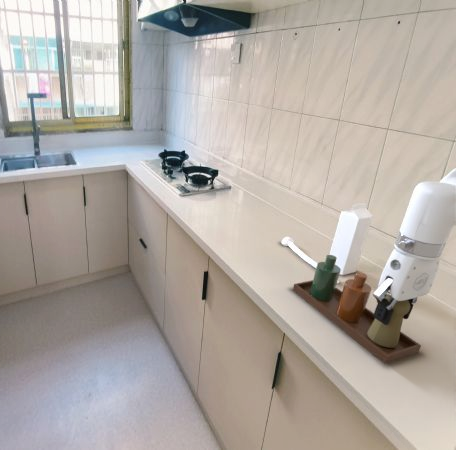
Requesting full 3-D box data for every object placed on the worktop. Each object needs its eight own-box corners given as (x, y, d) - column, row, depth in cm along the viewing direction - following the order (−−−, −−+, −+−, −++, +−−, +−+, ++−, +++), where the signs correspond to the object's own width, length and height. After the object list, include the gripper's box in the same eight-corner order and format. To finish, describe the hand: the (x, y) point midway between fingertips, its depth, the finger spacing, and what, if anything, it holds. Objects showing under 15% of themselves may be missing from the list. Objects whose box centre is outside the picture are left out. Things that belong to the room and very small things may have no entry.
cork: (385, 328, 79) (400, 289, 75) (404, 347, 74) (422, 306, 70) (361, 329, 79) (375, 289, 75) (378, 348, 74) (394, 306, 69)
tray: (320, 284, 98) (322, 278, 98) (418, 353, 74) (421, 345, 73) (292, 290, 95) (294, 283, 94) (385, 364, 71) (388, 356, 70)
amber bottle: (347, 307, 88) (360, 267, 83) (366, 320, 83) (381, 279, 78) (330, 311, 86) (343, 270, 81) (349, 325, 81) (363, 283, 76)
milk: (355, 272, 106) (377, 206, 97) (341, 275, 103) (362, 208, 94) (338, 262, 111) (358, 199, 102) (325, 266, 108) (344, 201, 99)
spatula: (347, 283, 99) (349, 275, 98) (335, 285, 98) (337, 277, 97) (289, 242, 124) (290, 235, 123) (279, 242, 123) (280, 235, 122)
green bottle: (321, 288, 95) (331, 250, 91) (337, 299, 91) (348, 260, 86) (305, 291, 94) (315, 253, 89) (320, 303, 89) (331, 263, 84)
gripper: (407, 259, 61) (377, 338, 68) (467, 247, 67) (434, 320, 74) (370, 241, 67) (346, 315, 75) (428, 231, 73) (400, 301, 80)
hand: (390, 317), depth 74 cm, fingers closed on cork, 5 cm apart
